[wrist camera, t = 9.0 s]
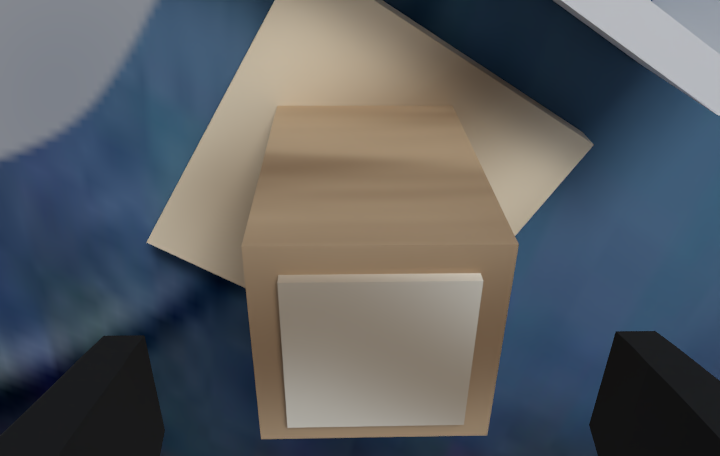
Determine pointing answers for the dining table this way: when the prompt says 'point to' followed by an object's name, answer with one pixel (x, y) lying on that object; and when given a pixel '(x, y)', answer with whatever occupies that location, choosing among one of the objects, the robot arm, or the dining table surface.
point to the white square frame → (663, 39)
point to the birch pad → (354, 88)
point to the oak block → (375, 275)
